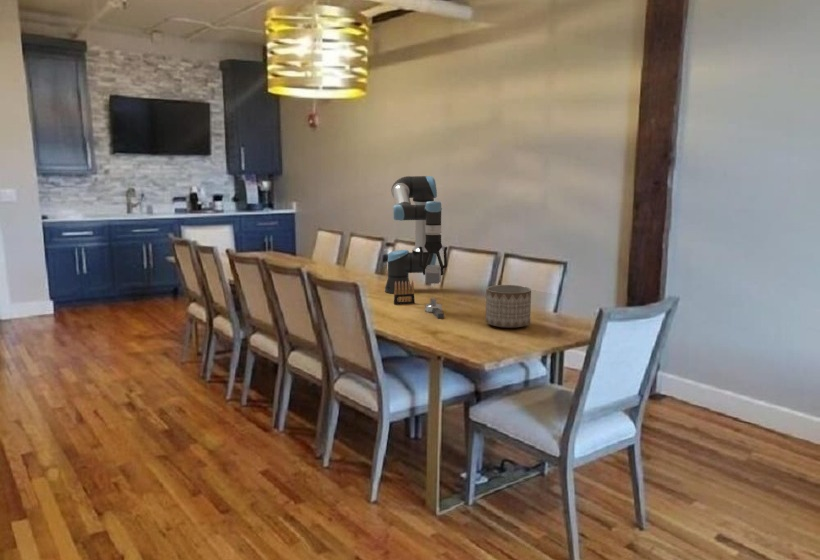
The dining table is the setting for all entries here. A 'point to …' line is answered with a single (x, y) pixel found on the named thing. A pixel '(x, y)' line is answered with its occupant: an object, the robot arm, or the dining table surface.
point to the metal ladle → (434, 309)
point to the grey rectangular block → (432, 274)
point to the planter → (508, 306)
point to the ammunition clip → (404, 293)
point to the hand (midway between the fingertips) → (433, 281)
